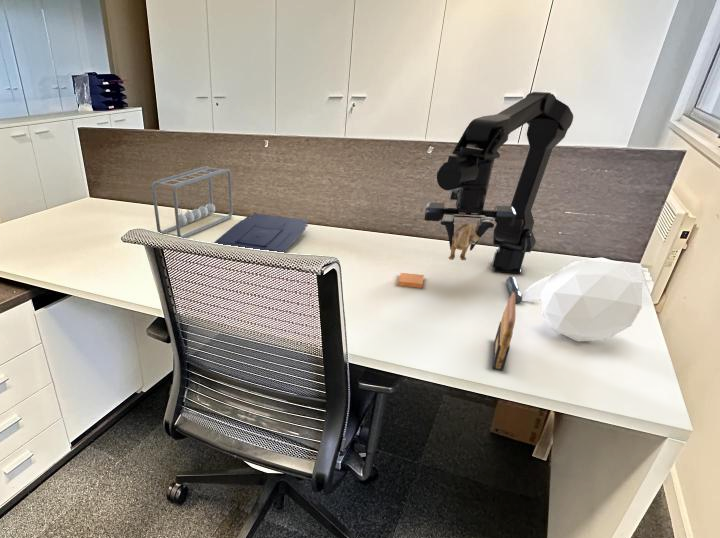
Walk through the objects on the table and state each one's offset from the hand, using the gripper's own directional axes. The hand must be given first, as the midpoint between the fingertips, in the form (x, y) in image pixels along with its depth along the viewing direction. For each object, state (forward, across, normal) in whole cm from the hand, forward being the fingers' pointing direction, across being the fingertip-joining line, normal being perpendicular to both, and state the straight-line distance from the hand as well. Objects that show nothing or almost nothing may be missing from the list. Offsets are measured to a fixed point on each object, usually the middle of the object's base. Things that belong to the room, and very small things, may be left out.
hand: (460, 249), depth 117 cm
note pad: (+11, +10, -3) cm, 15 cm away
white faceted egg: (+12, -24, +10) cm, 28 cm away
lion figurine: (+2, 0, 0) cm, 2 cm away
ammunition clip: (+11, -9, +29) cm, 32 cm away
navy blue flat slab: (+11, +58, -24) cm, 64 cm away
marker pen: (+11, -13, -3) cm, 18 cm away
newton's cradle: (+11, +86, -34) cm, 93 cm away
